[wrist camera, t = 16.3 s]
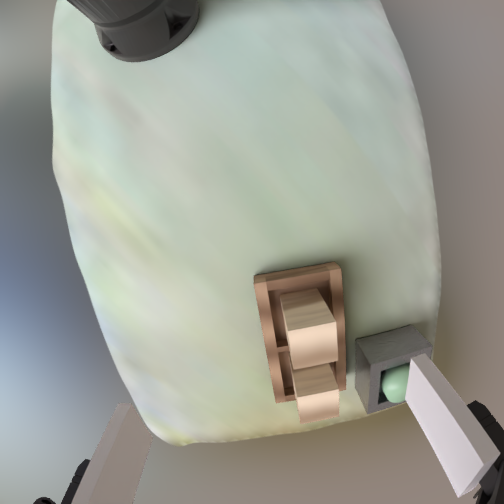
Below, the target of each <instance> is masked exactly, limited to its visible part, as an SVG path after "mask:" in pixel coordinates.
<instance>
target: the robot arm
mask: <svg viewBox="0 0 504 504" xmlns="http://www.w3.org/2000/svg"><path fill="white" fill-rule="evenodd" d="M67 1H68V2H69V3H71V4H72V5H73V6H74V7H76V8H77V9H78V10H79V11H80V12H82V13H83V14H84V15H85V16H86V17H88V18H89V19H90V20H91V21H92V22H93V23H94V25H95V28H96V32H97V35H98V38H99V41H100V43H101V45H102V46H103V48H104V49H105V50H106V51H107V52H108V53H110V54H111V55H112V56H113V57H115V58H117V59H119V60H122V61H126V62H141V61H147V60H150V59H154V58H156V57H159V56H161V55H163V54H165V53H167V52H169V51H171V50H172V49H174V48H175V47H177V46H178V45H179V44H180V43H181V42H183V41H184V40H185V39H186V38H187V37H188V35H189V34H190V33H191V32H192V30H193V29H194V27H195V25H196V23H197V20H198V16H199V5H198V2H197V0H67ZM405 400H406V401H407V403H408V405H409V407H410V408H411V410H412V412H413V413H414V415H415V417H416V419H417V420H418V422H419V424H420V426H421V428H422V430H423V431H424V433H425V435H426V437H427V438H428V440H429V442H430V444H431V446H432V448H433V449H434V451H435V453H436V455H437V457H438V459H439V461H440V463H441V465H442V466H443V468H444V470H445V472H446V474H447V476H448V478H449V480H450V482H451V484H452V486H453V488H454V490H455V492H456V494H457V496H458V498H459V497H461V496H462V495H464V494H466V493H468V492H469V491H471V490H473V489H474V488H475V486H477V484H478V483H480V485H481V488H480V489H479V491H478V492H477V493H476V494H475V496H474V497H473V498H476V497H477V496H478V498H477V501H476V504H504V430H503V428H502V427H501V426H500V424H499V423H498V422H496V419H495V418H494V417H493V415H491V413H490V412H489V410H488V409H487V408H486V406H485V405H483V404H481V403H479V402H477V401H476V400H475V401H474V402H472V403H470V404H468V405H466V404H465V403H464V402H463V400H462V399H461V398H460V397H459V395H458V394H457V392H456V391H455V390H454V389H453V387H452V386H451V385H450V383H448V381H447V380H446V379H445V377H444V376H443V375H442V373H441V372H440V371H439V370H438V368H437V367H436V366H435V365H434V364H433V362H432V361H431V360H430V359H429V357H428V356H427V355H426V354H425V353H424V354H421V355H418V356H415V357H412V358H411V362H410V370H409V377H408V384H407V390H406V396H405ZM152 440H153V437H152V436H151V434H150V433H149V431H148V430H147V428H146V426H145V425H144V423H143V422H142V420H141V419H140V417H139V415H138V414H137V412H136V410H135V409H134V407H133V405H132V404H130V403H118V405H117V407H116V409H115V411H114V413H113V415H112V417H111V419H110V421H109V423H108V425H107V428H106V429H105V431H104V433H103V435H102V437H101V440H100V442H99V444H98V446H97V448H96V450H95V452H94V454H93V456H92V458H91V460H88V459H85V460H84V461H83V462H82V463H81V464H80V465H79V466H78V468H77V470H76V472H75V476H74V477H73V479H72V483H70V485H69V487H68V490H67V491H66V494H65V496H64V498H63V500H62V502H61V504H133V501H134V498H135V495H136V491H137V488H138V485H139V481H140V478H141V475H142V472H143V469H144V465H145V462H146V459H147V456H148V453H149V450H150V447H151V443H152ZM33 504H56V503H55V502H53V501H52V500H51V499H50V498H47V497H41V498H39V499H37V500H36V501H35V502H34V503H33Z"/></svg>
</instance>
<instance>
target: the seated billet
mask: <svg viewBox="0 0 504 504" xmlns="http://www.w3.org/2000/svg"><path fill="white" fill-rule="evenodd" d="M289 359H290V367H291V374H292V380H293V386H294V391H295V397H296V402H297V408H298V413H299V419H300V424H304V423H309V422H315V421H320V420H325V419H329V418H334V417H338V416H339V388H338V385H337V383H336V380H335V377H334V375H333V372H332V370H331V367H330V365H329V363H325V364H320V365H316V366H311V367H306V368H300V369H295V370H294V369H293V364H292V360H291V355H290V353H289Z"/></svg>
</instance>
